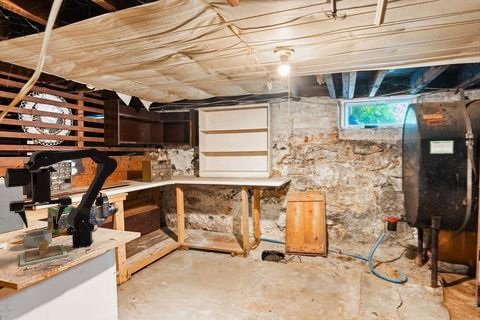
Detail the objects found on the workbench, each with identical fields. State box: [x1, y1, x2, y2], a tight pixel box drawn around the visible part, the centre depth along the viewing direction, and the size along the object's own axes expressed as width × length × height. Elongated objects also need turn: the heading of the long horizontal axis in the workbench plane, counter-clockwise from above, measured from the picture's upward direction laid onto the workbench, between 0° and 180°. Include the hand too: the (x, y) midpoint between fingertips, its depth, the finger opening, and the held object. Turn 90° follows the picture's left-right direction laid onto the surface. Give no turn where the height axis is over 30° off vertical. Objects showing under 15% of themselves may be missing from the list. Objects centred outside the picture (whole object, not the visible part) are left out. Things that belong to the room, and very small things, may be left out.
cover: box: [24, 239, 63, 262], centre depth 103 cm, size 11×11×5 cm
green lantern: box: [47, 205, 74, 235], centre depth 133 cm, size 9×9×15 cm
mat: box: [19, 243, 69, 268], centre depth 103 cm, size 14×14×1 cm
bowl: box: [23, 229, 53, 249], centre depth 115 cm, size 9×9×4 cm
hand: (42, 225), depth 102 cm, fingers open, 9 cm apart
